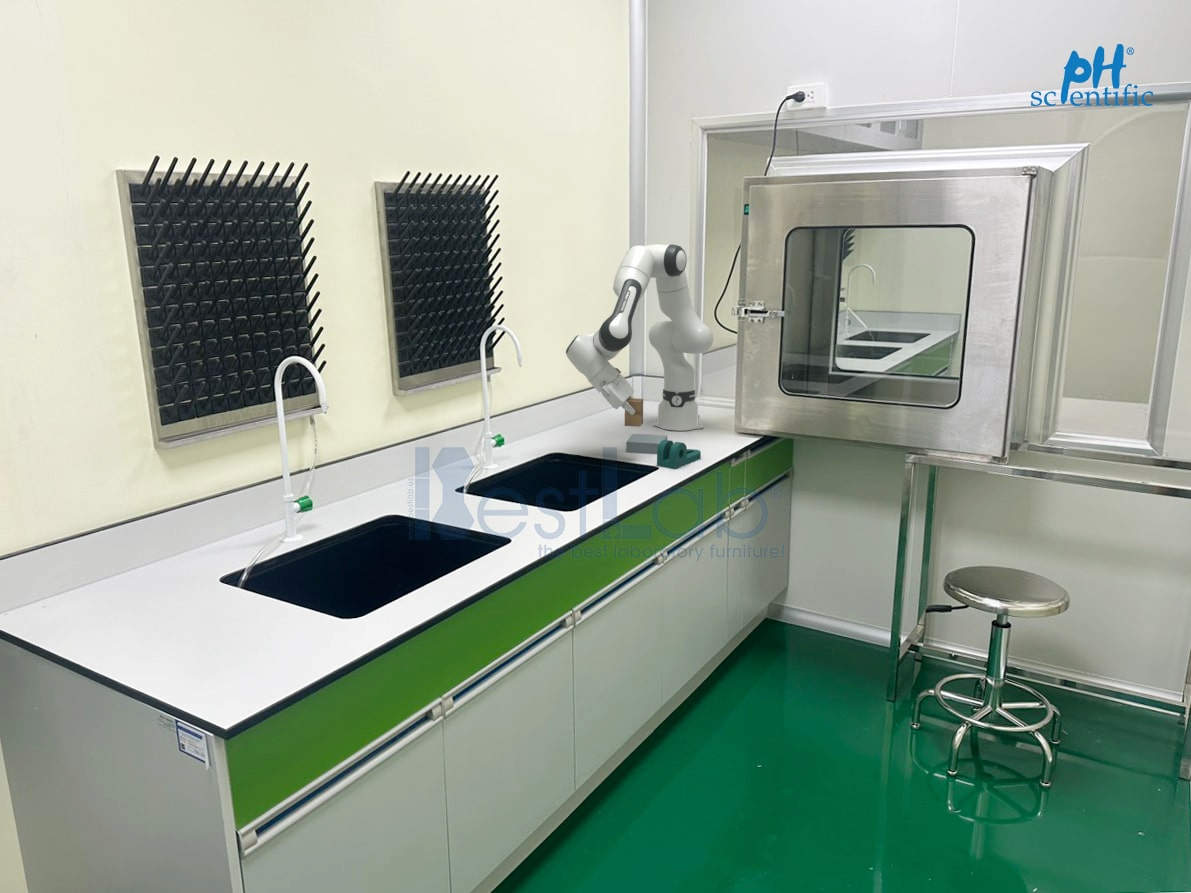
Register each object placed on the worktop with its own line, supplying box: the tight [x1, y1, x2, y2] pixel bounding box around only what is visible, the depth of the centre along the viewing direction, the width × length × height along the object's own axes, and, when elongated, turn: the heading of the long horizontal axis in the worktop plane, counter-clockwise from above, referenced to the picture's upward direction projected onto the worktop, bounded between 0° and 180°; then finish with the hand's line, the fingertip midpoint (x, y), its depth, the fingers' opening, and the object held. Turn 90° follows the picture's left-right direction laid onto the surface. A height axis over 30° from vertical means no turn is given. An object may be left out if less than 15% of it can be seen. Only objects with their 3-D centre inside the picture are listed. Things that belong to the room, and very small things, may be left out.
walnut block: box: [624, 397, 644, 428], centre depth 274 cm, size 5×5×8 cm
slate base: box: [625, 433, 668, 455], centre depth 291 cm, size 12×12×4 cm
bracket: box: [656, 439, 702, 470], centre depth 275 cm, size 18×7×8 cm, turn 143°
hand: (636, 411), depth 273 cm, fingers closed on walnut block, 5 cm apart
